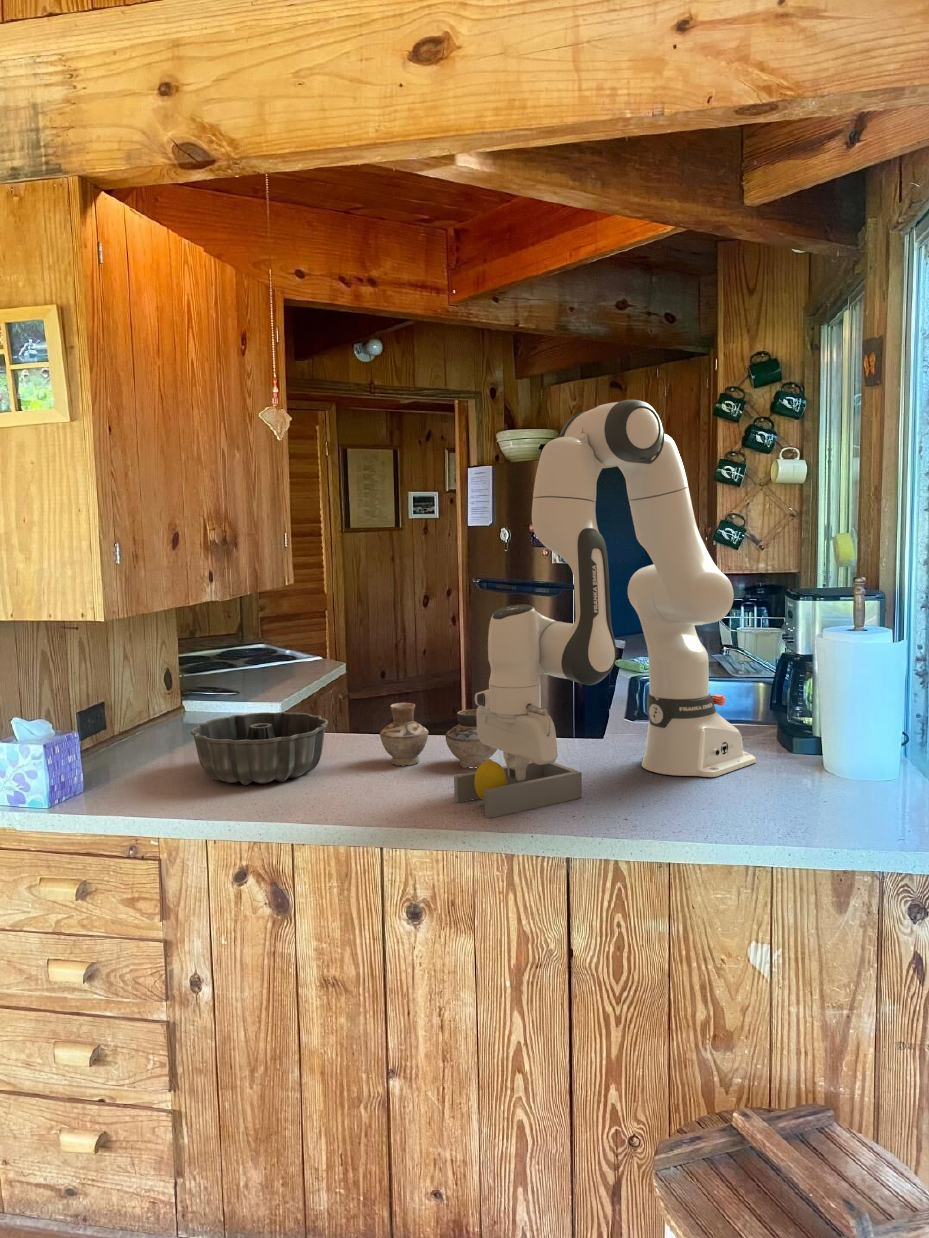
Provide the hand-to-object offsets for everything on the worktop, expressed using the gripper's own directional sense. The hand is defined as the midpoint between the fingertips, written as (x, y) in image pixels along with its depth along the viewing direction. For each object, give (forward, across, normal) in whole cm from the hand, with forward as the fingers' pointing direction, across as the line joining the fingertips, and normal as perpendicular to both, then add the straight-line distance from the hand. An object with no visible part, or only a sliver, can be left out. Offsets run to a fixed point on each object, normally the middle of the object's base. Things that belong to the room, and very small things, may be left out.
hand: (516, 778), depth 159 cm
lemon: (+4, 0, +5) cm, 7 cm away
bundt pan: (+4, +44, +31) cm, 54 cm away
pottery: (+4, +29, -1) cm, 29 cm away
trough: (+4, 0, 0) cm, 4 cm away
